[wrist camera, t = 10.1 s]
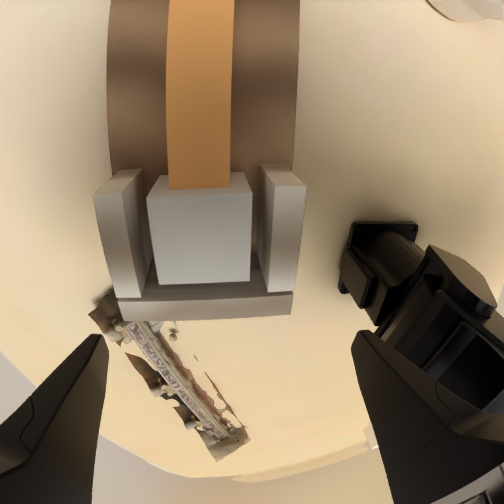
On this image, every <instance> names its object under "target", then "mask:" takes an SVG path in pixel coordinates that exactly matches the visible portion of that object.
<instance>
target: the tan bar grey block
mask: <svg viewBox="0 0 504 504" xmlns="http://www.w3.org/2000/svg"><path fill="white" fill-rule="evenodd" d="M234 1H235V0H170V2H169V15H168V32H167V56H166V128H167V154H168V172H169V175H160V176H159V178H158V179H157V181H156V183H155V184H154V186H153V188H152V189H151V191H150V193H149V194H148V196H147V198H146V199H147V208H148V216H149V224H150V231H151V238H152V245H153V252H154V258H155V264H156V270H157V276H158V281H159V285H165V284H194V283H219V282H240V281H250V255H251V225H252V195H253V193H252V191H251V189H250V186H249V184H248V181H247V179H246V177H245V174H244V172H230V123H231V79H232V48H233V22H234Z"/></svg>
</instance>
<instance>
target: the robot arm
mask: <svg viewBox="0 0 504 504" xmlns="http://www.w3.org/2000/svg"><path fill="white" fill-rule="evenodd" d="M358 227H360V228H359V229H358V230H356V229H357V228H358ZM412 228H413V229H412ZM417 232H418V225H417V224H416V223H415V222H381V221H358V222H355V223H353V225H352V227H351V231H350V236H349V241H348V246H347V248H346V250H345V253H344V257H343V262H342V266H341V271H340V275H339V276H340V281H339V285H338V289H339V291H340V293H342V294H348V293H350V294H351V296H352V297H353V299H354V301H355V302H356V304H357V305H358V307H359V308H360V309H365V311H366V312H367V314H368V315H369V317H370V319H371V320H372V322H373V324H374V325H375V326H379V327H378V328H377V329H376V331H375V332H374V333H373V332H371V331H370V330H360V331H358V332H357V334H356V336H355V339H354V341H353V343H352V346H351V353H352V357H353V361H354V366H355V370H356V375H357V379H358V383H359V387H360V390H361V393H362V396H363V399H364V402H365V405H366V408H367V411H368V414H369V418H370V421H371V424H372V427H373V430H374V434H375V437H376V440H377V443H378V447H379V450H380V454H381V457H382V461H383V464H384V467H385V471H386V474H387V479H388V483H389V487H390V490H391V494H392V498H393V501H394V504H504V318H503V317H502V316H501V315H500V314H499V313H498V312H497V311H496V310H495V309H496V307H497V303H496V300H495V298H494V296H493V294H492V292H491V290H490V288H489V286H488V284H487V282H486V280H485V278H484V276H483V275H482V274H481V273H479V272H478V271H477V270H476V269H475V268H473V267H472V266H471V265H470V264H469V263H467V262H466V261H465V260H464V259H462V258H460V257H458V256H455V255H453V254H451V253H449V252H446V251H444V250H442V249H440V248H437V247H435V246H433V245H430V244H429V245H428V247H427V249H426V251H425V252H426V253H425V252H424V251H423V250H422V249H421V248H420V247H419V246H418V245H416V244H415V243H414V242H415V239H416V235H417ZM344 287H345V288H344ZM343 288H344V289H343ZM108 361H109V350H108V347H107V345H106V342H105V339H104V337H103V335H101V334H90V335H89V336H88V337H87V338H86V339H85V340H84V341H83V342H82V343H81V344H80V345H79V346H78V347H77V348H76V349H75V350H74V351H73V352H72V353H71V354H70V355H69V356H68V357H67V358H66V359H65V360H64V361H63V362H62V363H61V364H60V365H59V366H58V367H57V368H56V369H55V370H54V371H53V372H52V373H51V374H50V375H49V376H48V377H47V378H46V379H45V380H44V381H43V383H42V384H41V385H40V386H39V387H38V388H37V389H36V390H35V391H34V392H33V393H32V395H31V396H29V397H28V398H27V399H26V401H25V402H24V403H23V404H22V405H21V406H20V407H19V408H18V409H17V410H16V411H15V412H14V413H13V414H12V415H11V416H9V418H7V419H6V420H5V421H4V422H3V423H2V424H1V425H0V504H91V503H92V486H93V474H94V464H95V456H96V448H97V440H98V434H99V427H100V421H101V415H102V409H103V404H104V398H105V392H106V381H107V370H108Z"/></svg>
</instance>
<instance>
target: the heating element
mask: <svg viewBox="0 0 504 504" xmlns="http://www.w3.org/2000/svg"><path fill="white" fill-rule="evenodd" d="M118 300H119V298H116V295H115V291H113V292H112V293H111V294H108V295H107V296H106V297H105V299H104V300H103V301H102V302H101V303H100V305H99V306H98V307H97V308H96V309H94V310H93V311H92V312H90V313H89V314H88V315H89V316H90V317H91V318H92V319H93V320H94V321H95V322H96V323H97V325H98V326H99V327H100V329H101V330H102V332H103V334H104V335H105V337H106V338H107V339H108V340H109V341H112V342H116V343H117V344H118V345H119V346H120V347H121V342H122V340H123V342H124V343H126V344H127V343H129V342H131V339H132V340H135V342H136V343H137V345H139V347H140V349H141V350H142V351H143V353H144V355H146V357H147V358H148V359H149V361H151V363H152V364H153V365H154V367H155V368H156V369H157V370H158V371H155V370H154V369H153V368H152V367H151V366H150V365H149V364H148V363H147V362H146V361H145V360H143V359H142V358H140V357H138V356H134V355H131V354H128V353H126V355H127V356H128V358H129V360H130V361H131V363H132V364H133V366H134V367H135V369H136V370H137V371H138V372H139V373H140V374H141V375H142V376H143V378H144V379H145V381H146V383H147V385H148V387H149V389H150V391H151V393H152V395H153V396H155V397H159V396H161V397H163V398H164V399H166V400H167V399H171V398H172V399H175V400H177V401H178V402H179V404H180V406H178V407H173V408H174V409H175V410H176V411H177V413H178V414H179V415H180V417H181V418H182V420H183V422H184V425H185V427H186V428H187V429H188V430H189V429H191V428H195V429H196V427H197V426H199V428H203V430H204V431H200V430H198V429H196V430H197V432H198V433H199V434H200V436H201V438H202V439H203V441H204V443H205V445H206V447H207V448H208V450H209V452H210V453H211V455H212V456H213V458H214V459H215V460H216V462H218V461H219V460H221V459H222V458H224V457H225V456H227V455H229V454H231V453H232V452H234V451H236V450H237V449H238V448H239V447H241V446H242V445H244V444H246V443H247V442H249V441H250V440H251V439H250V438H249V436H248V434H247V432H246V431H245V429H244V427H243V426H242V427H241V428H235V427H234V426H233V425H232V424H230V425H231V428H227V426H226V424H227V423H231V422H230V421H229V420H227V419H226V418H222V413H223V412H224V411H226V410H228V411H230V413H231V414H233V413H232V411H231V410H230V408H229V407H228V405H227V404H226V402H225V401H224V400H223V398H222V397H221V395H220V394H219V393H218V392H217V390H216V389H215V387H214V385H213V387H214V389H215V390H216V392H217V396H218V397H219V398H220V399H221V400H223V401H224V402H225V404H226V408H225V409H216V408H215V407H214V400H213V399H212V398H210V397H209V396H208V395H207V394H206V391H203V390H202V389H201V388H200V386H199V385H198V384H197V383H196V382H195V379H194V377H193V375H192V373H191V371H190V370H189V369H186V368H184V367H183V365H182V362H181V360H180V358H179V356H178V355H177V354H176V353H175V352H173V350H172V349H171V348H170V346H169V344H168V343H167V341H166V340H165V339H164V337H163V336H162V334H161V333H160V331H159V330H160V328H161V326H162V324H163V323H164V321H124V320H123V317H122V314H121V311H120V308H119V304H118ZM171 322H172V323H174V321H171ZM174 324H175V323H174ZM175 325H176V324H175ZM169 339H170V340H171V341H176V340H177V336H176V335H175V334H171V335H170V336H169ZM194 357H195V356H194ZM195 359H196V357H195ZM196 360H197V359H196ZM197 361H198V360H197ZM205 374H206V373H205ZM206 376H207V374H206ZM207 377H208V376H207ZM208 379H209V377H208ZM209 380H210V379H209ZM211 383H212V382H211ZM233 415H234V414H233ZM234 416H235V415H234ZM235 417H236V416H235ZM238 421H239V420H238ZM241 425H242V424H241Z"/></svg>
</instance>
